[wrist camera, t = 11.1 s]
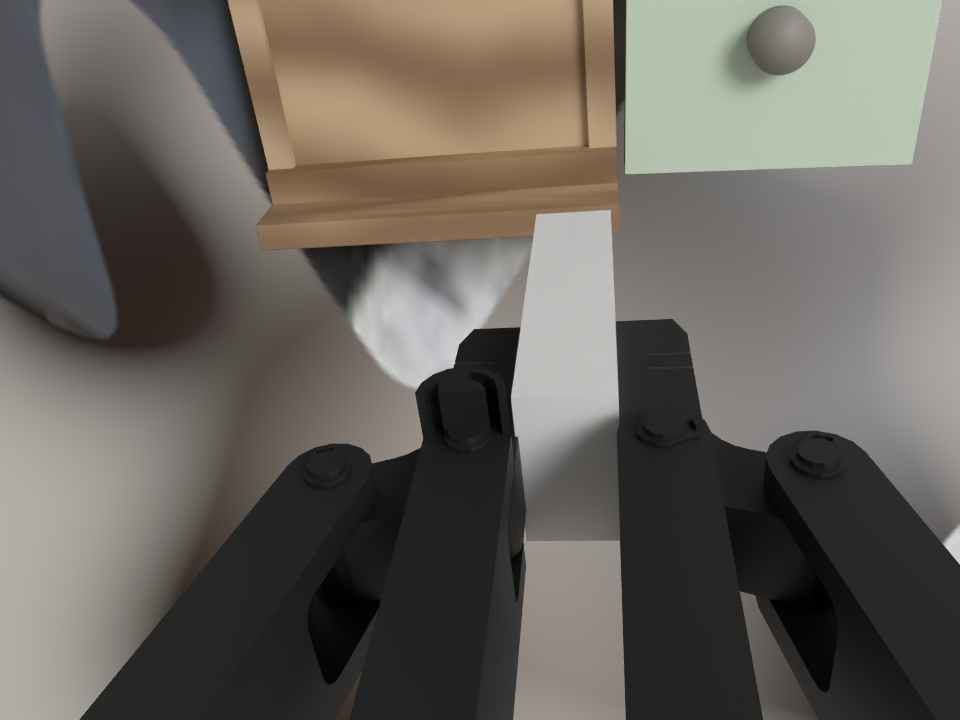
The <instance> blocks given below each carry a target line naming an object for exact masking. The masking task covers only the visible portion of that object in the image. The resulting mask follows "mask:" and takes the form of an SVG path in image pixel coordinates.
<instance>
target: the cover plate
mask: <svg viewBox="0 0 960 720" xmlns="http://www.w3.org/2000/svg"><path fill="white" fill-rule="evenodd" d="M941 5H942V0H626V38H625V125H624V126H625V127H624V163H625V174H647V173H675V172H703V171H728V170H729V171H730V170H731V171H732V170H760V169H785V168H786V169H788V168H812V167H813V168H814V167H815V168H816V167H844V166H872V165H900V164H912V161H913V155H914V150H915V145H916V139H917V134H918V129H919V123H920V118H921V112H922V107H923V102H924V96H925V90H926V86H927V80H928V74H929V69H930V64H931V58H932V53H933V48H934V43H935V37H936V32H937V26H938V21H939V16H940V10H941Z"/></svg>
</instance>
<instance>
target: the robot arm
mask: <svg viewBox="0 0 960 720" xmlns="http://www.w3.org/2000/svg"><path fill="white" fill-rule="evenodd" d="M612 253H613V252H612V229H611V210H599V211H583V212H566V213H550V214H536V221H535V228H534V235H533V243H532V250H531V257H530V264H529V271H528V279H527V286H526V293H525V301H524V307H523V315H522V322H521V327H518V328H494V329H474V330H473V331H472V332H471V333H470V334H469V335H468V336H467V337H466V338H465V339H464V340H463V341H462V342H461V343H460V344H459V348H458V352H457V356H456V360H455V364H454V368H451V369H447V370H444V371H442V372H439V373H436V374H434V375H432V376H431V377H429V378H428V379H426V380H425V381H423V382H422V383H421V384H420V386H419V388H418V389H417V391H416V392H415V394H416V400H417V405H418V411H419V417H420V422H421V428H422V433H423V442H422V446H421V448H419V449H418V450H415V451H413V452H411V453H409V454H407V455H404V456H401V457H397V458H394V459H390V460H385V461H381V462H377V463H373V464H372V463H371V459H370V455H369V454H368V453H366V452H365V451H364V450H363V449H362V448H359V447H357V446H353V445H350V444H329V445H325V446H320V447H316V448H313V449H311V450H309V451H307V452H305V453H303V454H301V455H299V456H298V457H297V458H296V459H295V460H294V461H292V462H291V463H290V464H289V465H288V466H287V467H286V468H285V470H284V471H283V472H282V473H281V474H280V476H279V477H278V478H277V479H276V481H275V482H274V483H273V484H272V485H271V487H270V488H269V489H268V490H267V492H266V493H265V494H264V495H263V496H262V498H261V499H260V500H259V501H258V503H257V504H256V505H255V506H254V508H253V509H252V510H251V511H250V512H249V514H248V515H247V516H246V517H245V518H244V520H243V521H242V522H241V523H240V524H239V526H238V527H237V528H236V529H235V531H234V532H233V533H232V534H231V536H230V537H229V538H228V539H227V540H226V542H225V543H224V544H223V545H222V546H221V548H220V549H219V550H218V551H217V553H216V554H215V555H214V556H213V557H212V559H211V560H210V561H209V562H208V564H207V565H206V566H205V567H204V568H203V570H202V571H201V572H200V573H199V575H198V576H197V577H196V578H195V580H194V581H193V582H192V583H191V584H190V586H189V587H188V588H187V589H186V590H185V592H184V593H183V594H182V595H181V596H180V598H179V599H178V600H177V601H176V603H175V604H174V605H173V606H172V607H171V609H170V610H169V611H168V613H167V614H166V615H165V616H164V617H163V618H162V620H161V621H160V622H159V623H158V625H157V626H156V627H155V628H154V630H153V631H152V632H151V633H150V634H149V636H148V637H147V638H146V639H145V640H144V642H143V643H142V644H141V645H140V647H139V648H138V649H137V650H136V651H135V653H134V654H133V655H132V656H131V658H130V659H129V660H128V661H127V662H126V664H125V665H124V666H123V667H122V669H121V670H120V671H119V672H118V673H117V675H116V676H115V677H114V678H113V679H112V681H111V682H110V683H109V684H108V686H107V687H106V688H105V689H104V691H103V692H102V693H101V694H100V695H99V697H98V698H97V699H96V700H95V701H94V703H93V704H92V705H91V706H90V708H89V709H88V710H87V711H86V712H85V714H84V715H83V716H82V717H81V718H80V720H335V719H336V717H337V715H338V714H339V712H340V710H341V708H342V706H343V705H344V703H345V701H346V699H347V697H348V695H349V694H350V692H351V690H352V688H353V686H354V685H355V683H356V681H357V679H358V677H359V675H360V674H361V672H362V674H361V677H360V681H359V685H358V689H357V693H356V696H355V701H354V704H353V708H352V712H351V715H350V719H349V720H513V713H514V702H515V690H516V678H517V666H518V654H519V643H520V631H521V618H522V607H523V595H524V583H525V571H526V562H525V552H524V544H523V538H524V528H526V538H527V541H575V540H576V541H584V540H585V541H587V540H589V541H595V540H620V548H621V549H620V550H621V582H622V611H623V644H624V674H625V705H626V720H763V717H762V711H761V706H760V701H759V695H758V689H757V684H756V678H755V673H754V668H753V662H752V656H751V651H750V645H749V640H748V635H747V629H746V623H745V618H744V612H743V607H742V601H741V596H740V591H741V592H745V593H749V594H753V595H755V596H756V599H757V603H758V607H759V609H760V611H761V613H762V615H763V617H764V619H765V621H766V622H767V624H768V626H769V628H770V630H771V632H772V634H773V636H774V637H775V639H776V641H777V643H778V645H779V647H780V649H781V651H782V653H783V655H784V656H785V658H786V660H787V662H788V664H789V666H790V668H791V670H792V672H793V673H794V675H795V677H796V679H797V681H798V683H799V685H800V686H801V689H802V691H803V692H804V694H805V696H806V698H807V700H808V702H809V704H810V706H811V707H812V709H813V711H814V713H815V715H816V717H817V719H818V720H960V564H959V563H958V562H957V561H956V560H955V558H954V557H953V556H952V555H951V554H950V552H949V551H948V550H947V549H946V548H945V546H944V545H943V544H942V543H941V542H940V540H939V539H938V538H937V537H936V536H935V535H934V533H933V532H932V531H931V530H930V529H929V527H928V526H927V525H926V524H925V523H924V521H923V520H922V519H921V518H920V517H919V515H918V514H917V513H916V512H915V511H914V509H913V508H912V507H911V506H910V505H909V503H908V502H907V501H906V500H905V499H904V497H903V496H902V495H901V494H900V493H899V491H898V490H897V489H896V488H895V487H894V485H893V484H892V483H891V482H890V481H889V479H888V478H887V477H886V476H885V475H884V473H883V472H882V471H881V470H880V469H879V467H878V466H877V465H876V464H875V463H874V461H873V460H872V459H871V458H870V457H869V456H868V454H867V453H866V452H865V451H864V450H862V449H861V448H860V447H859V446H857V445H856V444H855V443H854V442H853V441H850V440H848V439H845V438H843V437H841V436H838V435H836V434H831V433H825V432H820V431H798V432H794V433H791V434H787V435H784V436H781V437H779V438H778V439H777V440H776V441H774V442H773V443H772V444H771V445H770V446H769V449H768V451H767V453H765V452H761V451H755V450H750V449H746V448H742V447H738V446H734V445H732V444H730V443H728V442H725V441H723V440H721V439H720V438H718V437H717V436H715V435H714V434H712V433H711V431H710V429H709V427H708V426H707V423H706V422H705V420H703V419H702V415H701V409H700V404H699V398H698V392H697V387H696V381H695V375H694V369H693V364H692V358H691V354H690V347H689V342H688V335H687V333H686V332H685V331H684V330H683V329H682V328H681V327H680V326H679V325H678V324H677V323H676V322H675V321H674V320H673V319H663V320H638V321H615V300H614V277H613V254H612Z"/></svg>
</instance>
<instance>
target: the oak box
mask: <svg viewBox="0 0 960 720" xmlns="http://www.w3.org/2000/svg"><path fill="white" fill-rule="evenodd" d="M228 3H229V7H230V12H231V16H232V20H233V24H234V28H235V32H236V36H237V40H238V45H239V49H240V53H241V57H242V61H243V65H244V69H245V74H246V78H247V82H248V86H249V90H250V94H251V98H252V102H253V107H254V111H255V115H256V119H257V123H258V127H259V131H260V135H261V140H262V144H263V148H264V152H265V156H266V160H267V164H268V169H269V170H268V171H267V173H266V178H267V182H268V186H269V190H270V194H271V198H272V203H273V205H272V206H271V207H270V209H269V210H268V211H267V212H266V214H265V215H264V216H263V217H262V219H261V220H260V221H259V222H258V224H257V225H256V229H257V233H258V236H259V240H260V244H261V248H262V250H277V249H296V248H315V247H333V246H352V245H371V244H389V243H408V242H426V241H445V240H464V239H482V238H501V237H520V236H533V235H534V228H535V221H536V214H550V213H566V212H583V211H599V210H611V229H612V232H613V231H620V220H619V196H618V176H617V175H618V174H617V142H616V102H615V62H614V23H613V0H228Z"/></svg>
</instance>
